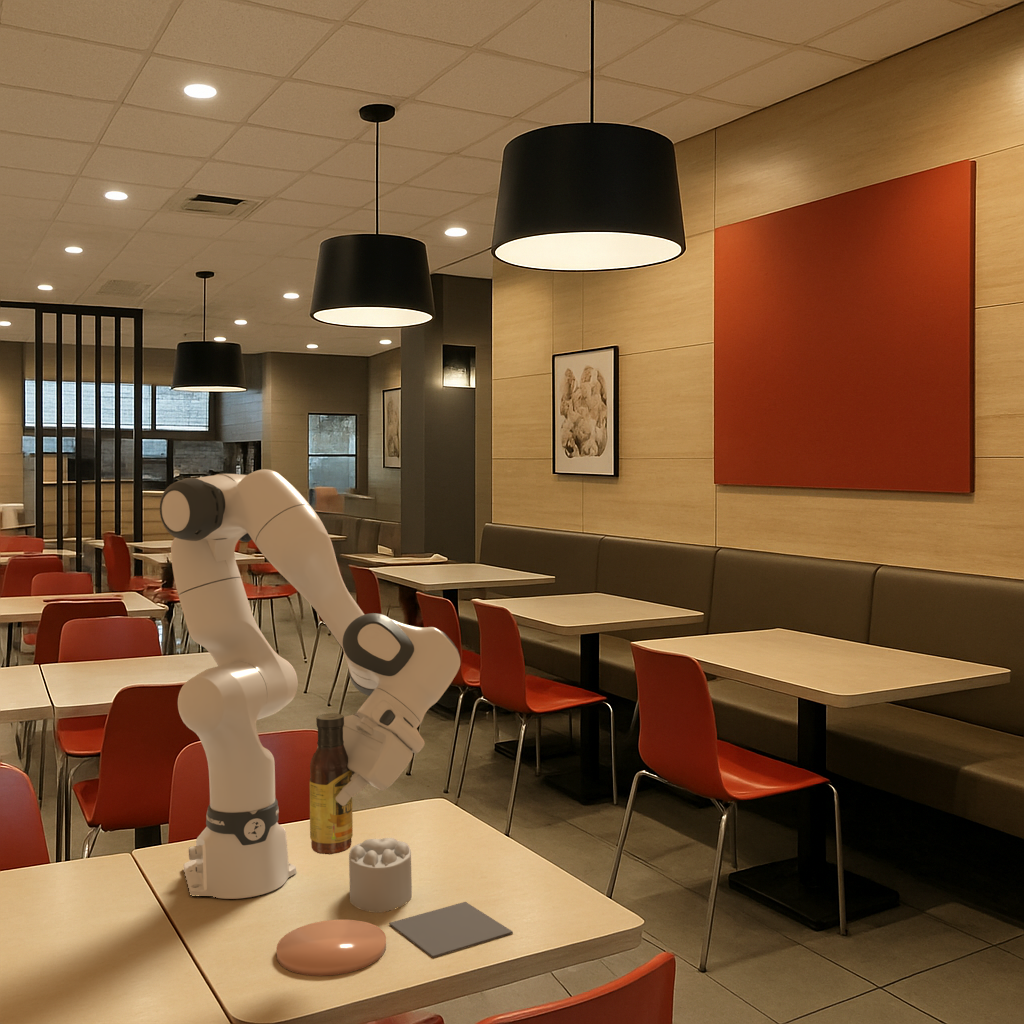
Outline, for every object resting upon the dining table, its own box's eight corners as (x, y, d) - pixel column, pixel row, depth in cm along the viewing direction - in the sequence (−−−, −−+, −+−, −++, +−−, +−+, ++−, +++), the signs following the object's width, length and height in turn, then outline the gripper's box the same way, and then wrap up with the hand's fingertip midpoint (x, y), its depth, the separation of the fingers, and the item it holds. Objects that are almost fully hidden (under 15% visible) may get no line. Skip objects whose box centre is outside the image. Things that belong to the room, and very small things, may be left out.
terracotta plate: (261, 944, 151) (260, 936, 151) (358, 918, 160) (358, 911, 160) (301, 986, 138) (301, 978, 138) (405, 955, 147) (404, 947, 147)
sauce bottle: (344, 858, 146) (341, 723, 144) (303, 855, 147) (300, 721, 146) (359, 840, 152) (357, 711, 151) (320, 838, 153) (317, 710, 152)
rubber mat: (389, 924, 158) (389, 922, 158) (465, 903, 165) (465, 901, 165) (433, 957, 146) (432, 955, 146) (512, 933, 154) (512, 931, 154)
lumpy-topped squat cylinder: (410, 880, 176) (409, 831, 176) (413, 910, 163) (412, 857, 163) (350, 884, 175) (349, 834, 175) (348, 914, 162) (347, 861, 162)
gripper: (343, 697, 161) (286, 767, 156) (403, 721, 144) (341, 800, 139) (369, 721, 164) (313, 791, 159) (430, 747, 147) (370, 826, 142)
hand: (327, 795), depth 149 cm, fingers closed on sauce bottle, 6 cm apart
